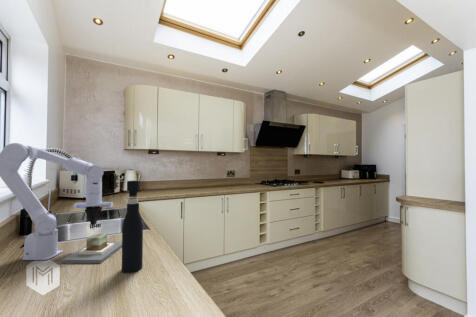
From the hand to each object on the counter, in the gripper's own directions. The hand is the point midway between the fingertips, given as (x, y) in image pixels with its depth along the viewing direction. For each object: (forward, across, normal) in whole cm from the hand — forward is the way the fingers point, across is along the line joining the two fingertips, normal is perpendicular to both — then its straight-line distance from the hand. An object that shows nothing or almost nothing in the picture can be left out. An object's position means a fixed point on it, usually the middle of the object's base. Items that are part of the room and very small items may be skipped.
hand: (93, 224), depth 96 cm
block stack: (+8, +5, -8) cm, 12 cm away
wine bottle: (+10, +22, -24) cm, 34 cm away
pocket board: (+9, +5, -8) cm, 13 cm away
